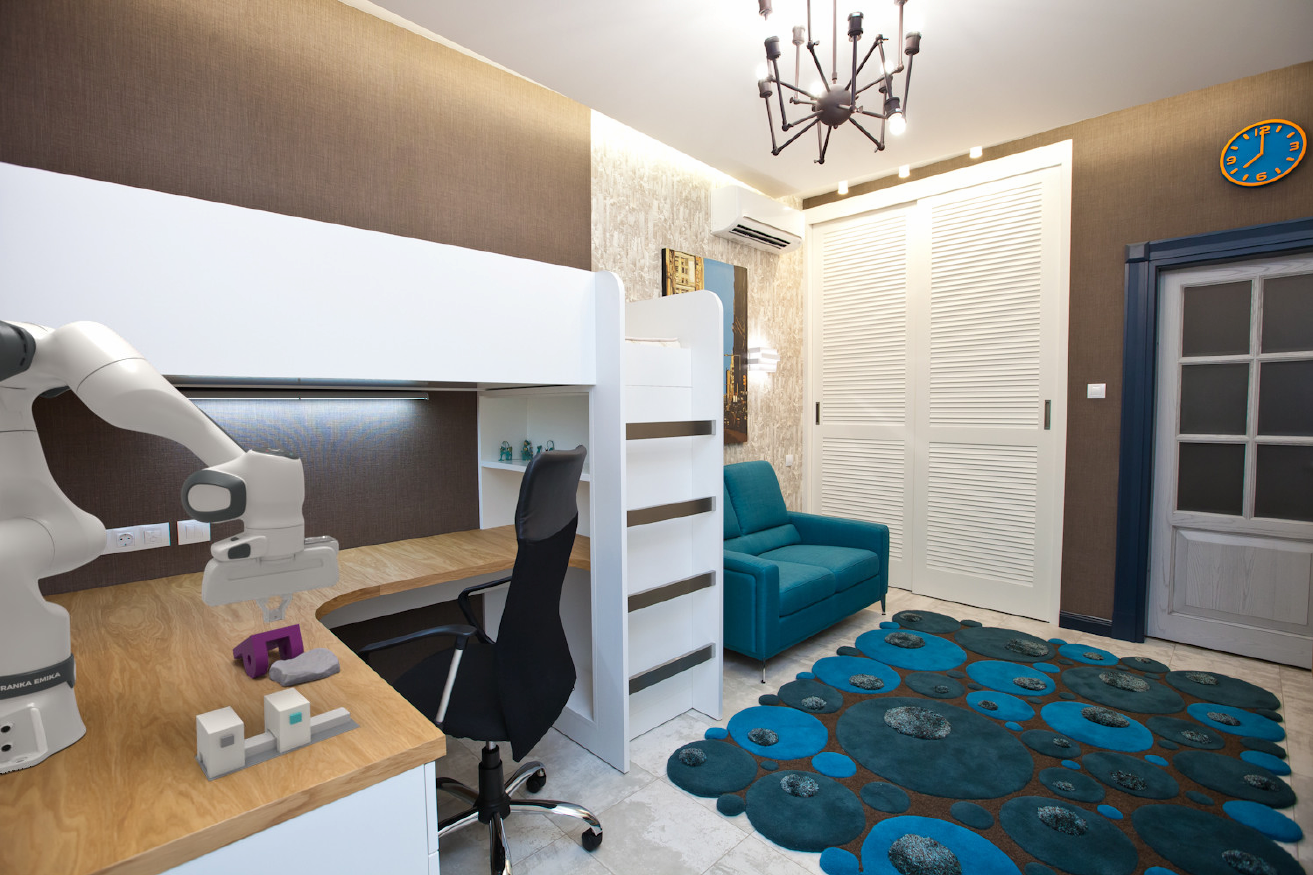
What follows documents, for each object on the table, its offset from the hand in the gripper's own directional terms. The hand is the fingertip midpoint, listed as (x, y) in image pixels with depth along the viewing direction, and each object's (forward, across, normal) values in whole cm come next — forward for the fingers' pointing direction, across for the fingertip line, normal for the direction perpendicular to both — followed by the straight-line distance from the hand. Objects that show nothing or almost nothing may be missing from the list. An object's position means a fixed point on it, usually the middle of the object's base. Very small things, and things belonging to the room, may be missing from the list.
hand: (274, 620), depth 105 cm
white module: (+19, -1, +5) cm, 20 cm away
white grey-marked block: (+20, +9, +5) cm, 22 cm away
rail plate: (+20, 0, +5) cm, 21 cm away
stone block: (+21, -13, -24) cm, 34 cm away
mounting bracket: (+22, -8, -38) cm, 44 cm away
